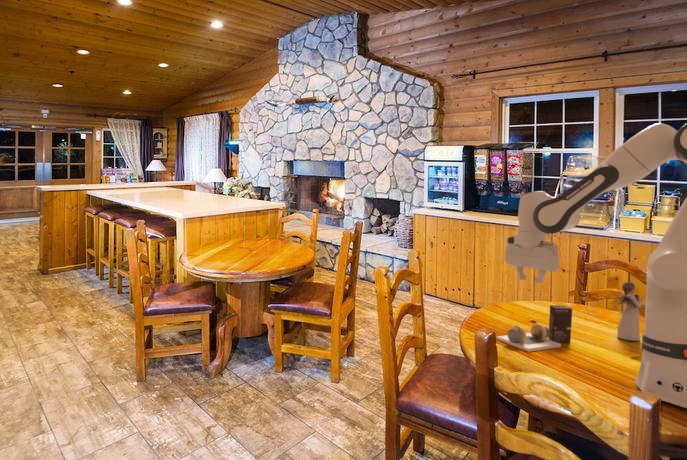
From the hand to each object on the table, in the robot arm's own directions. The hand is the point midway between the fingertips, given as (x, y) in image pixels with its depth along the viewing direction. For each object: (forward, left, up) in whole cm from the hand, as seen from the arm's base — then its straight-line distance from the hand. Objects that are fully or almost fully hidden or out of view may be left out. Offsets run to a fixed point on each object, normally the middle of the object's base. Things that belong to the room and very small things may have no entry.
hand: (530, 281), depth 145 cm
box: (-2, -12, -21) cm, 24 cm away
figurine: (-8, -35, -21) cm, 42 cm away
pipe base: (0, 0, -21) cm, 21 cm away
